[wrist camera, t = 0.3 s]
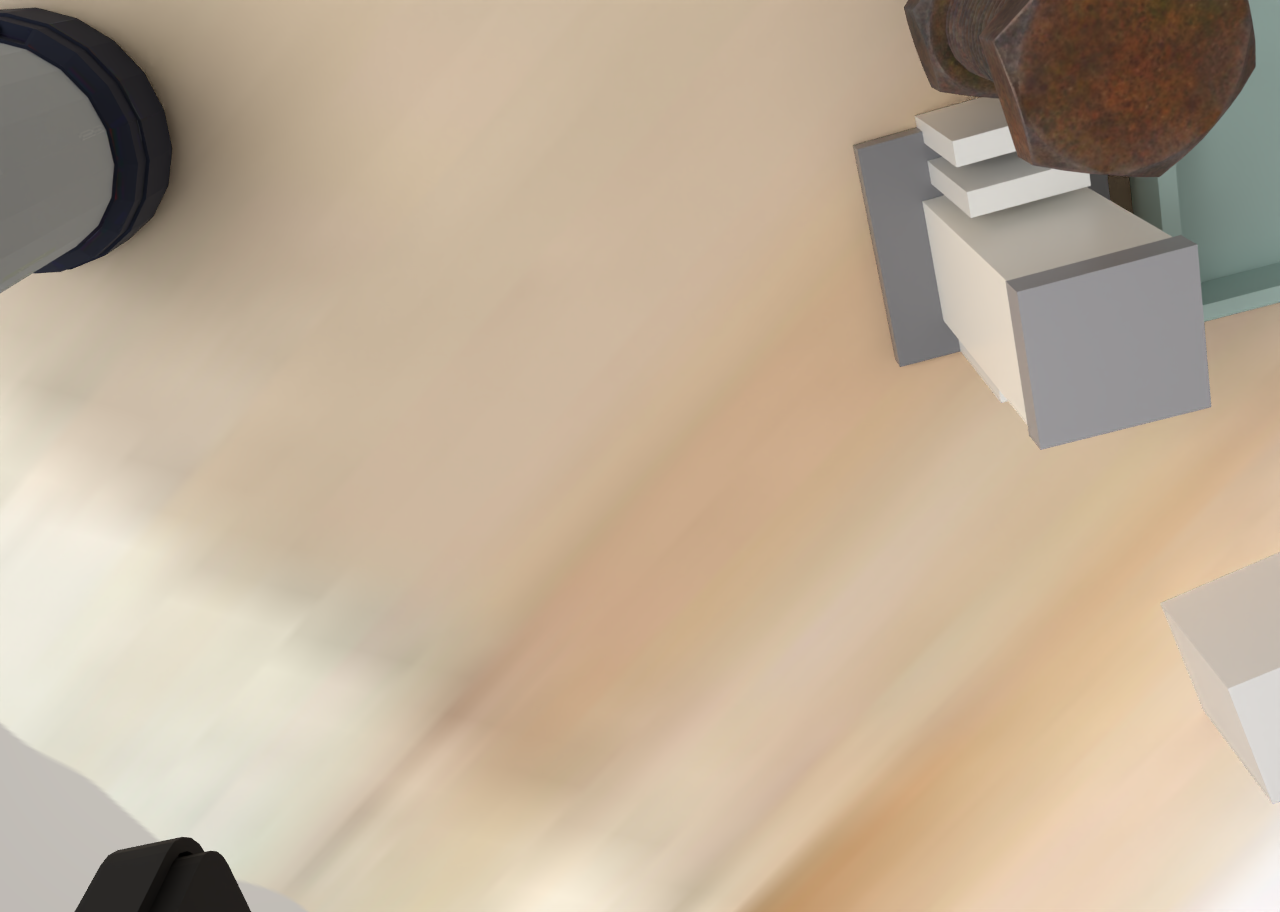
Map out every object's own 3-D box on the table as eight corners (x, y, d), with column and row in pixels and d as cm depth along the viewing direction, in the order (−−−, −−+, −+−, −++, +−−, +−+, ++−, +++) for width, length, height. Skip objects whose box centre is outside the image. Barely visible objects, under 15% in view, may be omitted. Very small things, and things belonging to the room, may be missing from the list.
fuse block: (752, -362, 35) (812, -484, 24) (1026, -450, 34) (1214, -617, 23) (895, 359, 44) (985, 503, 33) (1114, 302, 43) (1277, 430, 33)
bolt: (953, -125, 38) (1146, -146, 24) (1070, -25, 39) (1317, 9, 25) (836, 35, 40) (952, 100, 26) (951, 126, 41) (1121, 234, 27)
